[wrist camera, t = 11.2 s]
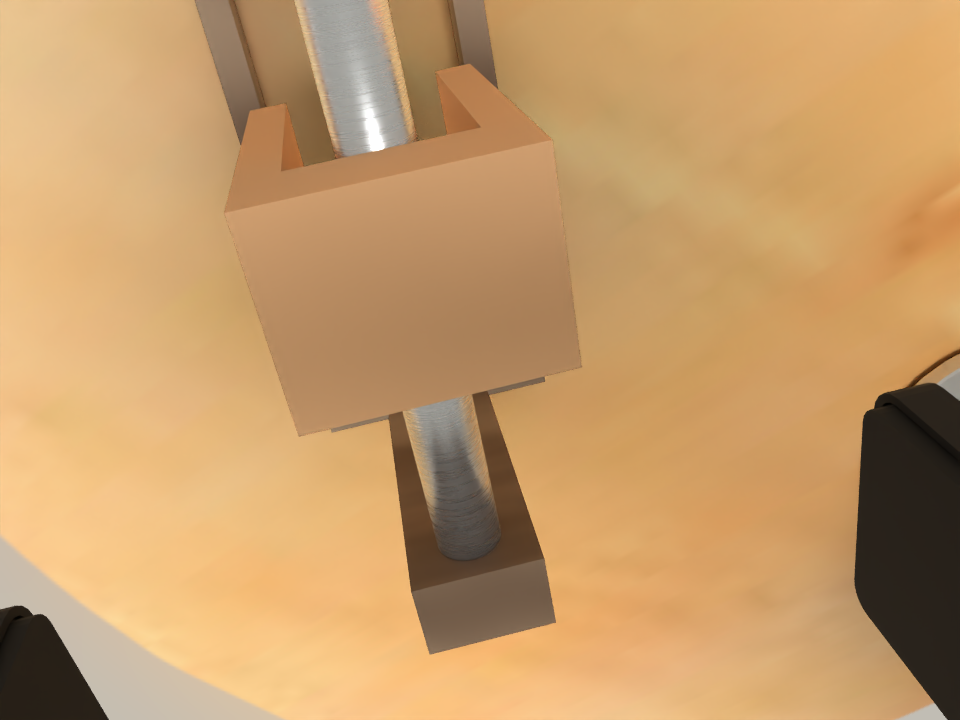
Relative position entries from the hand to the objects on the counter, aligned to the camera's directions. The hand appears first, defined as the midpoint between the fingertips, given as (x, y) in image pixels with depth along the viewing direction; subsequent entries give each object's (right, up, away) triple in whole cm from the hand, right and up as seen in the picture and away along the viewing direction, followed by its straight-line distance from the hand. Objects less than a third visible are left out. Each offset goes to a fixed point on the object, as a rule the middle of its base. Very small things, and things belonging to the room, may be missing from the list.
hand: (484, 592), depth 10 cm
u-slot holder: (-3, +8, +15) cm, 17 cm away
